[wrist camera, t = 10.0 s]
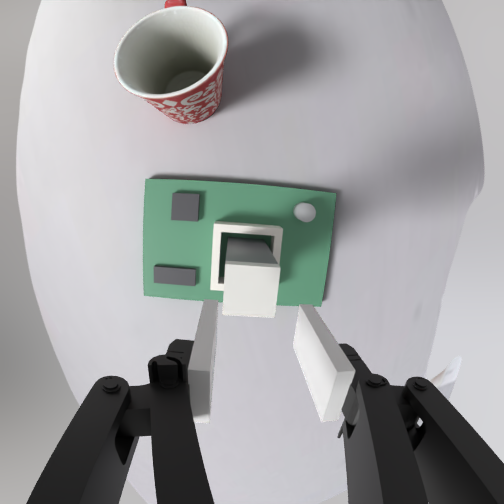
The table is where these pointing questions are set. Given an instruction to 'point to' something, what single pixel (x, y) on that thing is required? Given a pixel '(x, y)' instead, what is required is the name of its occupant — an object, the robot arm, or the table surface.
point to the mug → (175, 61)
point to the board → (233, 225)
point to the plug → (250, 279)
